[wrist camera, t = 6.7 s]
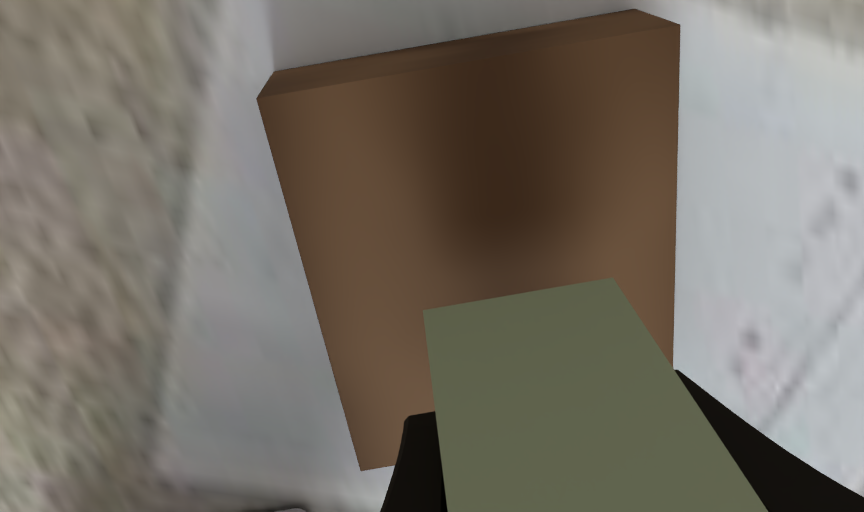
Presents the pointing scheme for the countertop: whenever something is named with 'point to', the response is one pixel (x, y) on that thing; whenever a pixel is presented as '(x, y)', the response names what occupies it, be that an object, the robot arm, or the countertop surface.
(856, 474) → the countertop surface
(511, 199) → the plinth
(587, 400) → the block
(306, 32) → the countertop surface
